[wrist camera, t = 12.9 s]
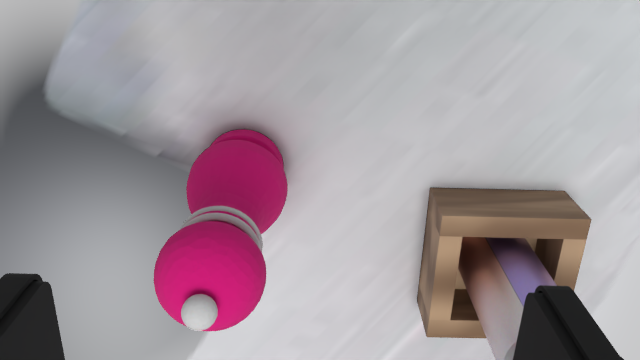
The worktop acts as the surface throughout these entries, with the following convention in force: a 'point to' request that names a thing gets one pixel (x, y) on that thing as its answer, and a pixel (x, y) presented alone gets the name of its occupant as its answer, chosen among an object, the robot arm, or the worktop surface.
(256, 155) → the pepper mill
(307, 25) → the worktop surface
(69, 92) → the worktop surface
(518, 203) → the holder
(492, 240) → the beverage can
